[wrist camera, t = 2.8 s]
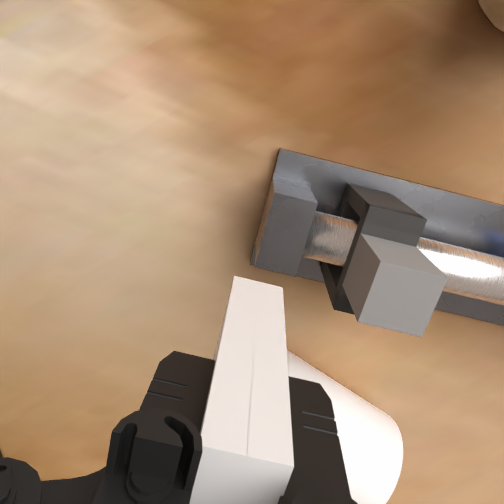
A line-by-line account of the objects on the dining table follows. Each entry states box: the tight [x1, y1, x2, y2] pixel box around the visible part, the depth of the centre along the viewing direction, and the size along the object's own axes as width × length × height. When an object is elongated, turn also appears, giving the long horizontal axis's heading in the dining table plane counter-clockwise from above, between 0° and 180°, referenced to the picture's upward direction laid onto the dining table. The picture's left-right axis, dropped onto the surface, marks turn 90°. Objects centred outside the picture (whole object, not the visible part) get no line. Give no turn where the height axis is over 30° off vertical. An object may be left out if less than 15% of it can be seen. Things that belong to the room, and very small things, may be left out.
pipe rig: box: [250, 148, 504, 326], centre depth 26 cm, size 24×8×6 cm, turn 76°
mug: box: [287, 350, 403, 504], centre depth 30 cm, size 12×10×8 cm
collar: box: [320, 184, 448, 337], centre depth 23 cm, size 3×6×10 cm, turn 166°
